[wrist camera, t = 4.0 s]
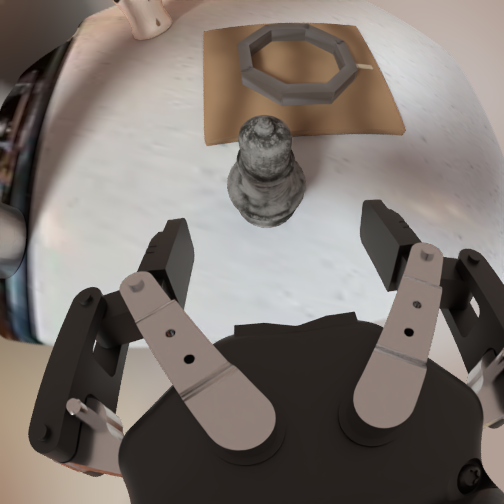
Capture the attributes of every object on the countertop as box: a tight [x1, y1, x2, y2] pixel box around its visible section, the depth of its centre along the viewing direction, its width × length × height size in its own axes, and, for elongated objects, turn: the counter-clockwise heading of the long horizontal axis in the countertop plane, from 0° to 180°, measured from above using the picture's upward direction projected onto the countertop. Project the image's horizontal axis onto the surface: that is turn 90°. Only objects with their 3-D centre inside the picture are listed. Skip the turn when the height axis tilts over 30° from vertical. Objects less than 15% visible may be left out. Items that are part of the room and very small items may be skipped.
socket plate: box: [203, 23, 406, 146], centre depth 25 cm, size 20×18×3 cm
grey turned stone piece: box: [227, 115, 306, 228], centre depth 18 cm, size 6×6×12 cm
